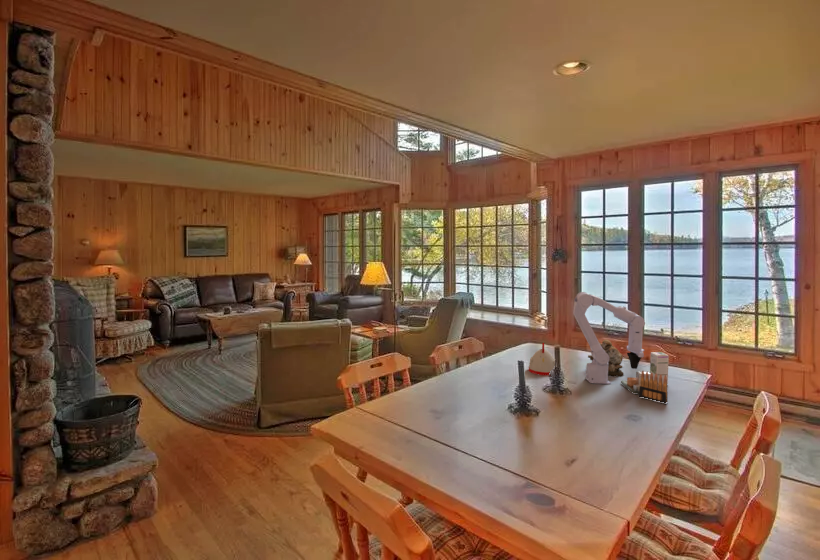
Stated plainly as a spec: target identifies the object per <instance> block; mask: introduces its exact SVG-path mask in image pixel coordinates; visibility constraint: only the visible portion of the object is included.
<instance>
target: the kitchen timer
mask: <svg viewBox="0 0 820 560" xmlns="http://www.w3.org/2000/svg"><path fill="white" fill-rule="evenodd" d="M541 344H542V347H541V348H540V349H538V350H536V351H535V352H534V354H533V355H532V356H531V357H530V359H529V364H528V365H529V366H528V371H529V372H530V373H531V374H534V375H538V374H539V375H538V376H550V375H549V373H550V371H551V370H552V369H553V368H554V366H555V360H556V358H554V357H553V355H552V353H551V352H550V351H549V350H548V349H545V342H542V343H541Z"/></svg>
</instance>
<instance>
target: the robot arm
mask: <svg viewBox="0 0 820 560" xmlns="http://www.w3.org/2000/svg"><path fill="white" fill-rule="evenodd" d="M573 302H574V303H573V308H572V309H573V310H572V313H573V314H572V315H573V316H574V319H575V320H576V321H577V325H578V326H579V328H580V330H581V332H582V334H583V336H584V337H585V340H586V342H587V343H588V346H589V348H590V350H591V352H592V354H591V355H592V357H593V358H594V359H593V361H592V360H591V362H588V363H586V366H585V379H586V380H587V381H588V382H589V383H590V384H608V385H609V384H610V385H611V384H612V383H611V381H609V376H608V362H609V359H610V358H609V355H608V354H607V353H606V352H605V351H604V350H603V348H602V347H601V345H600V343H601V342H600V341H599V340H598V338H597V335H596V333H595V331H594V329H593V327H592V326H591V324H590V322H589V319H588V318H587V316H586V312H587V311H588V309H589V308H590V307H591V306H592V307H595V306H596V307H597V306H598V307H600V308H603V309H605V310H606V311H608V312H611V313H613V317H614V318H616V319H618V320H621V321H622V322H624V323H626V324H628V325H629V327H628V329H629V330H628V345H626V350H627V351H628V352H627V353H626V354H627V357H628V360H629V363H630V364H629V365H630V367H631V369H633V370H634V369H635V370H637V369H638V366H639V363H640V361H641V360H642V358H644V352H645V349H643V335H644V334H643V333H644V332H643V328H644V327H645V325H646V322H645V318H644V317H642V316H641V315H638V314H637V313H636V312H635V311H631V310H629V309H627V307H626V306H615V305H613V304H611V303H609V302H608V301H606V300H604V299H602V298H601V297H600V296H599V297H598V296H596V295H593V294H589V293H587V292H585V291H580V292H578V293H576V296H575V297H574V301H573Z"/></svg>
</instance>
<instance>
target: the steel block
mask: <svg viewBox="0 0 820 560" xmlns="http://www.w3.org/2000/svg"><path fill="white" fill-rule="evenodd" d="M646 372H647V371H644V379H645V377H646ZM641 373H642V371H636V372H635V378H636V385H640V380H641ZM648 374H649V381H650V371H648Z"/></svg>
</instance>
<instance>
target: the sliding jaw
mask: <svg viewBox="0 0 820 560" xmlns="http://www.w3.org/2000/svg"><path fill="white" fill-rule="evenodd" d="M626 379H627V380H626V381H627V384H628V385H630V386H634V384H636V377H633V376H632V377H631V376H630V377H626ZM653 383H654V380H653Z"/></svg>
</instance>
